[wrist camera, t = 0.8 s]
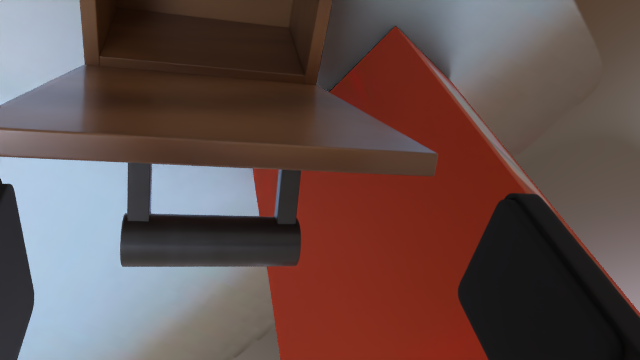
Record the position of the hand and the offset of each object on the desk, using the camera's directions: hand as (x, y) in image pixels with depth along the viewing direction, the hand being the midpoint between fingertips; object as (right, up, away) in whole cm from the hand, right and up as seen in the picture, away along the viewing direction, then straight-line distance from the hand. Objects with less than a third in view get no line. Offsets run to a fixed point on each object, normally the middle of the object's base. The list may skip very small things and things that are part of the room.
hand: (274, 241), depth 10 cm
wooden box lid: (-4, +5, +13) cm, 14 cm away
